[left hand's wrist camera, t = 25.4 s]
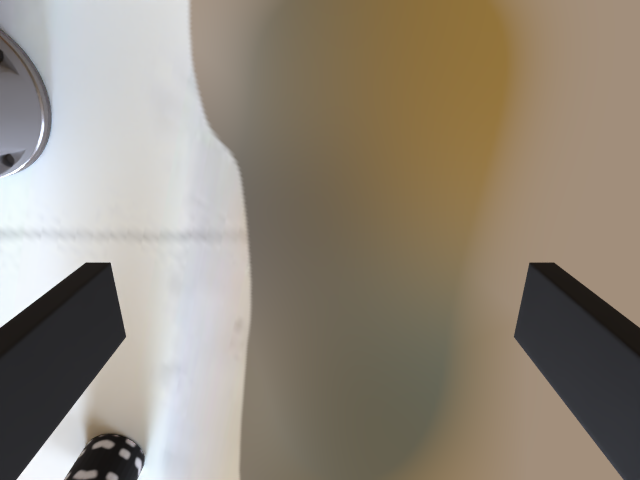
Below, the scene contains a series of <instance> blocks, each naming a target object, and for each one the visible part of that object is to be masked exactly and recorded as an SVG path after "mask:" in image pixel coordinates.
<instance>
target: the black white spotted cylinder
mask: <svg viewBox="0 0 640 480" xmlns="http://www.w3.org/2000/svg"><path fill="white" fill-rule="evenodd" d="M144 462H145V459H144V454H143V452H142V450H141V449H140V448H139V447H138V445H137V444H135V443H134V442H133V441H131V440H129V439H127V438H125V437H122V436H118V435H101V436H97V437H95V438H93V439H92V440H90V441H89V442H88V444H87V445H86V447H85V448H84V450H83V451H82V453H81V454H80V456H79V457H78V459H77V460H76V462H75V464H74V465H73V467H72V468H71V470H70V471H69V473H68V474H67V476H66V477H65V479H64V480H137V479H138V477H139V474H140V472H141V470H142V468H143V466H144Z"/></svg>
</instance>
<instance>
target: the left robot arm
mask: <svg viewBox="0 0 640 480" xmlns="http://www.w3.org/2000/svg"><path fill="white" fill-rule="evenodd" d="M50 130H51V108H50V102H49V97H48V94H47V91H46V88H45V85H44V83H43V80H42V78H41V76H40V74H39V72H38V71H37V69H36V67H35V66H34V64H33V63H32V61H31V60H30V58H29V57H28V56H27V54H26V53H25V52H24V51H23V50H22V49H21V48H20V46H19V45H18V44H17V43H16V42H15V41H13V40H12V39H11V38H10V37H9V36H8V35H7V34H5V33H4V32H3V31H1V30H0V178H1V177H4V176H8V175H11V174H15V173H17V172H20V171H22V170H24V169H26V168H27V167H29V166H30V165H31V164H33V163H34V162H35V161H36V160H37V159H38V157H39V156H40V155H41V153H42V152H43V150H44V148H45V146H46V144H47V142H48V138H49V135H50ZM125 338H126V334H125V329H124V325H123V320H122V315H121V310H120V306H119V301H118V296H117V291H116V287H115V282H114V277H113V272H112V268H111V263H85V264H84V265H82V266H81V267H80V268H78V269H77V270H76V271H74V272H73V273H72V274H70V275H69V276H68V277H67V278H65V279H64V280H63V281H61V282H60V283H59V284H57V285H56V286H55V287H53V288H52V289H51V290H49V291H48V292H47V293H45V294H44V295H43V296H42V297H40V298H39V299H38V300H36V301H35V302H34V303H32V304H31V305H30V306H28V307H27V308H26V309H24V310H23V311H22V312H21V313H19V314H18V315H17V316H15V317H14V318H13V319H11V320H10V321H9V322H7V323H6V324H5V325H3V326H2V327H1V328H0V480H16V479H17V478H18V477H19V476H20V474H21V473H22V472H23V470H24V469H25V468H26V466H27V465H28V464H29V463H30V461H31V460H32V459H33V457H34V456H35V455H36V453H37V452H38V451H39V450H40V448H41V447H42V446H43V444H44V443H45V442H46V440H47V439H48V438H49V436H50V435H51V434H52V433H53V431H54V430H55V429H56V427H57V426H58V425H59V423H60V422H61V421H62V420H63V418H64V417H65V416H66V414H67V413H68V412H69V410H70V409H71V408H72V407H73V405H74V404H75V403H76V401H77V400H78V399H79V397H80V396H81V395H82V394H83V392H84V391H85V390H86V388H87V387H88V386H89V384H90V383H91V382H92V381H93V379H94V378H95V377H96V375H97V374H98V373H99V371H100V370H101V369H102V368H103V366H104V365H105V364H106V362H107V361H108V360H109V358H110V357H111V356H112V355H113V353H114V352H115V351H116V349H117V348H118V347H119V345H120V344H121V343H122V341H123V340H124V339H125ZM514 338H515V339H516V340H517V341H518V343H519V344H520V345H521V347H522V348H523V349H524V351H525V352H526V353H527V355H528V356H529V357H530V358H531V360H532V361H533V362H534V364H535V365H536V366H537V367H538V369H539V370H540V371H541V373H542V374H543V375H544V377H545V378H546V379H547V380H548V382H549V383H550V384H551V386H552V387H553V388H554V390H555V391H556V392H557V394H558V395H559V396H560V397H561V399H562V400H563V401H564V403H565V404H566V405H567V407H568V408H569V409H570V410H571V412H572V413H573V414H574V416H575V417H576V418H577V420H578V421H579V422H580V423H581V425H582V426H583V427H584V429H585V430H586V431H587V433H588V434H589V435H590V436H591V438H592V439H593V440H594V442H595V443H596V444H597V446H598V447H599V448H600V450H601V451H602V452H603V453H604V455H605V456H606V457H607V459H608V460H609V461H610V462H611V464H612V465H613V466H614V468H615V469H616V470H617V472H618V473H619V474H620V476H621V477H622V478H623V479H624V480H640V328H639V327H638V326H637V325H635V324H634V323H633V322H631V321H630V320H629V319H627V318H626V317H625V316H623V315H622V314H621V313H619V312H618V311H617V310H616V309H614V308H613V307H612V306H610V305H609V304H608V303H606V302H605V301H604V300H602V299H601V298H600V297H598V296H597V295H596V294H595V293H593V292H592V291H591V290H589V289H588V288H587V287H585V286H584V285H583V284H581V283H580V282H579V281H577V280H576V279H575V278H573V277H572V276H571V275H570V274H568V273H567V272H566V271H564V270H563V269H562V268H560V267H559V266H558V265H556V264H555V263H529V268H528V272H527V277H526V282H525V287H524V291H523V296H522V301H521V306H520V310H519V315H518V320H517V325H516V329H515V334H514Z"/></svg>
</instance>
